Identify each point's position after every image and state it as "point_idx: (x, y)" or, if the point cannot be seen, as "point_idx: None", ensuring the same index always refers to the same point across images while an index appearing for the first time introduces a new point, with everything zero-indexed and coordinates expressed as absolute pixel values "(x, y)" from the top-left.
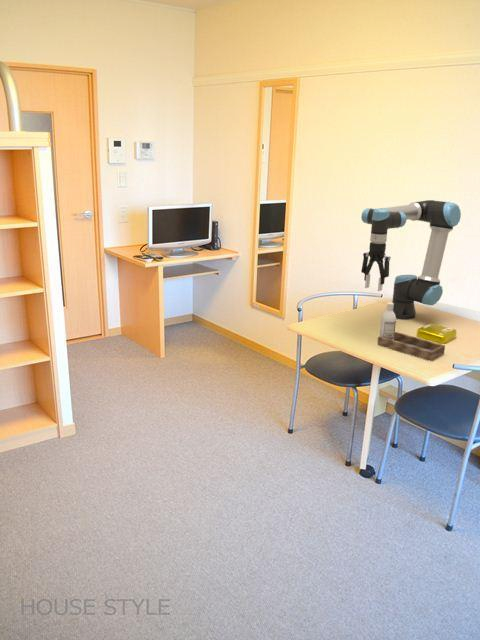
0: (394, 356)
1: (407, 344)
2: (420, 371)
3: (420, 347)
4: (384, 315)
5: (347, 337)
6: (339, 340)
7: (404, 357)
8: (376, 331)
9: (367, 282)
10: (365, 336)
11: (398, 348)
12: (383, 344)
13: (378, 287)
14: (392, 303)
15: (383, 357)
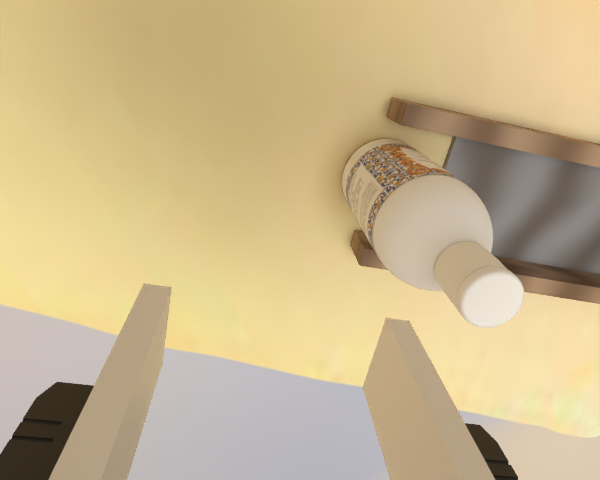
0: (457, 329)
1: (526, 277)
2: (570, 399)
3: (570, 164)
4: (411, 283)
5: (169, 239)
6: None
7: None
8: (270, 20)
9: (141, 416)
10: (247, 162)
11: None
12: None
13: (382, 428)
14: (514, 301)
15: None
